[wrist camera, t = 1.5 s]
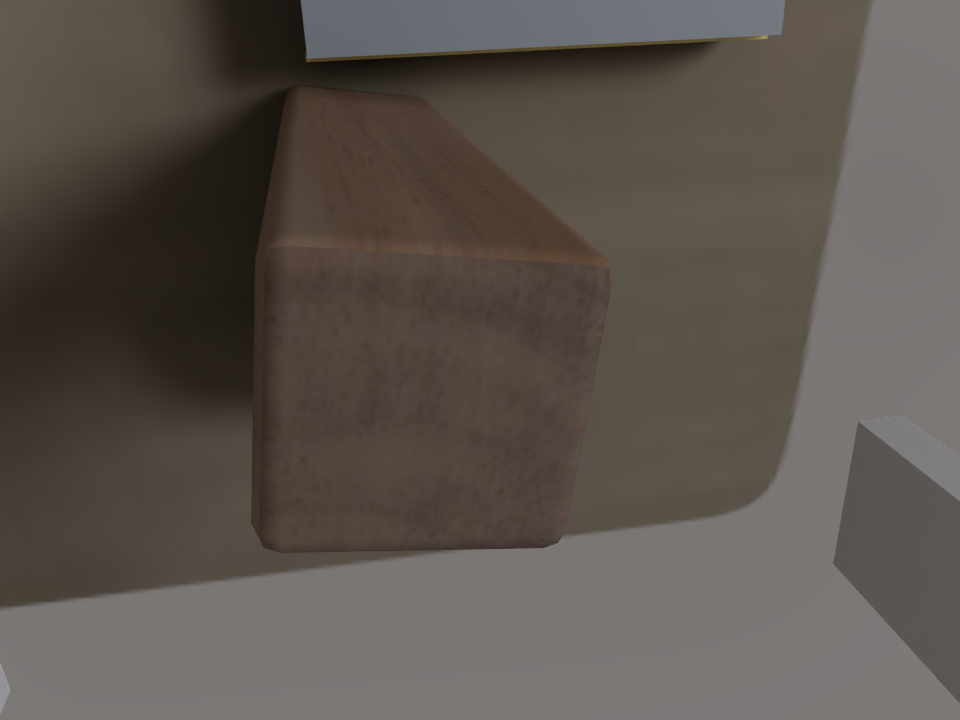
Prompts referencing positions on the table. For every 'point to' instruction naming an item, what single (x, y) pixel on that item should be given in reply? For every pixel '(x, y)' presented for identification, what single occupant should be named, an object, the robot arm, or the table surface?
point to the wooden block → (413, 338)
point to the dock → (523, 25)
